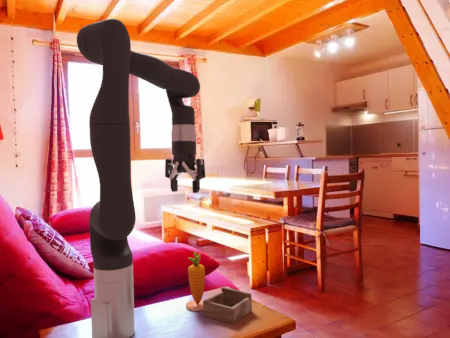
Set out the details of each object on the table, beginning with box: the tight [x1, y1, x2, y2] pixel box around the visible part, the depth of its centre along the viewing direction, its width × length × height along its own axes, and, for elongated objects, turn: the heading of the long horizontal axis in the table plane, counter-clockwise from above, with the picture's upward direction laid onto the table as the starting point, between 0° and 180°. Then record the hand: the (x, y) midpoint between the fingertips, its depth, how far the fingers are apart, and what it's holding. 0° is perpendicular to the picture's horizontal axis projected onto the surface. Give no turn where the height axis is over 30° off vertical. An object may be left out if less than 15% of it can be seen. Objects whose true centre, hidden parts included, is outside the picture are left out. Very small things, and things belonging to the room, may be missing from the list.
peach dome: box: [185, 299, 206, 312], centre depth 109 cm, size 7×7×1 cm
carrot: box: [187, 251, 206, 304], centre depth 109 cm, size 5×5×15 cm
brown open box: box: [202, 286, 253, 325], centre depth 103 cm, size 10×10×5 cm
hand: (185, 192), depth 117 cm, fingers open, 8 cm apart
